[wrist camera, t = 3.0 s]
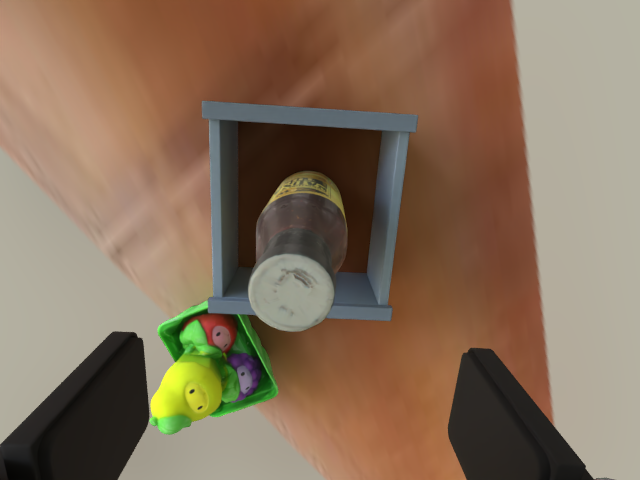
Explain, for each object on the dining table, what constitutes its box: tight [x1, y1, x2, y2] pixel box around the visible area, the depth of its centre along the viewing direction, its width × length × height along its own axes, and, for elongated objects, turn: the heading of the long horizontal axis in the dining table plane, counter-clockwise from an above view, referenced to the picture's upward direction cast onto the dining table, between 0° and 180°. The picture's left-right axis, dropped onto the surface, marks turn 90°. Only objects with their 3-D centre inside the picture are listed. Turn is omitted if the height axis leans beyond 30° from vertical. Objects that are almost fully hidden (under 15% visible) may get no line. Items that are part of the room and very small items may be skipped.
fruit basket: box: [150, 300, 278, 434], centre depth 34 cm, size 11×9×11 cm
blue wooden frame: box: [202, 101, 418, 321], centre depth 32 cm, size 15×16×8 cm
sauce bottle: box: [248, 171, 347, 332], centre depth 26 cm, size 7×6×20 cm
